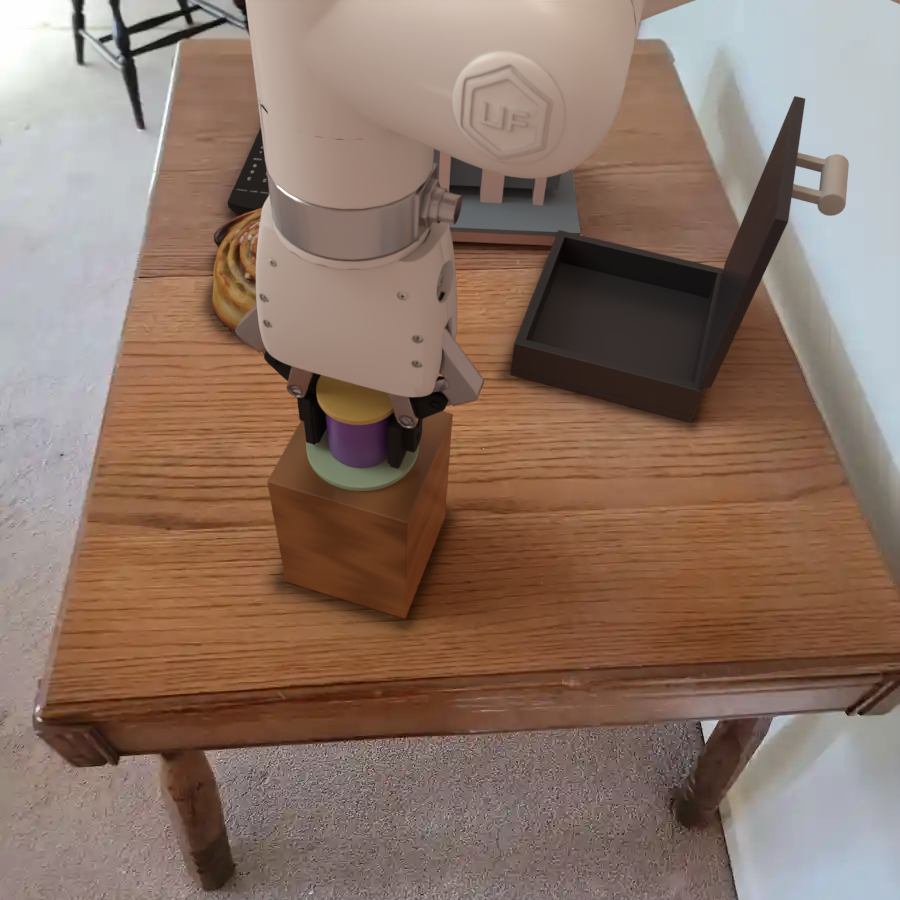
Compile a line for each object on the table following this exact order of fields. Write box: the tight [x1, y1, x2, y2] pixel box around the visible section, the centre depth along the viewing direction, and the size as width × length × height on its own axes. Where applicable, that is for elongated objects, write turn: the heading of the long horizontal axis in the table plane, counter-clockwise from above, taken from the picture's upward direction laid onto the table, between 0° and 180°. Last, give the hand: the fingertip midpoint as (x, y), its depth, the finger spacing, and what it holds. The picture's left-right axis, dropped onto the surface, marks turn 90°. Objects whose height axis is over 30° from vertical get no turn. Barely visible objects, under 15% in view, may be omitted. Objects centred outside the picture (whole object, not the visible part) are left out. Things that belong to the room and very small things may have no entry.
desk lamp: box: [433, 149, 581, 247], centre depth 80 cm, size 18×14×33 cm
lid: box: [700, 95, 850, 390], centre depth 71 cm, size 16×16×5 cm
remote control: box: [227, 127, 269, 216], centre depth 97 cm, size 5×24×1 cm, turn 173°
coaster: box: [306, 429, 419, 491], centre depth 58 cm, size 7×7×1 cm
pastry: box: [211, 208, 262, 333], centre depth 81 cm, size 13×15×8 cm
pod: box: [316, 375, 394, 468], centre depth 56 cm, size 5×5×5 cm
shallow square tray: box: [509, 230, 724, 423], centre depth 81 cm, size 16×16×4 cm
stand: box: [267, 410, 454, 619], centre depth 63 cm, size 9×9×12 cm
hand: (361, 436), depth 57 cm, fingers closed on pod, 4 cm apart
